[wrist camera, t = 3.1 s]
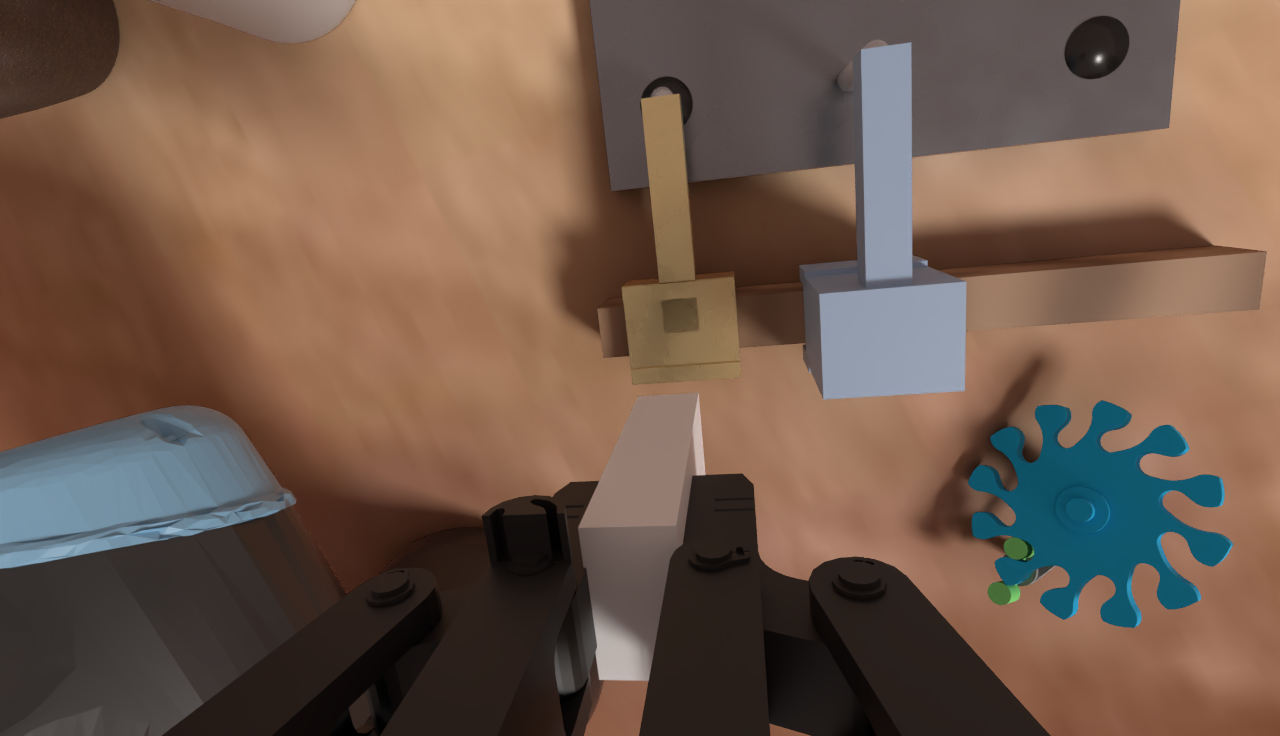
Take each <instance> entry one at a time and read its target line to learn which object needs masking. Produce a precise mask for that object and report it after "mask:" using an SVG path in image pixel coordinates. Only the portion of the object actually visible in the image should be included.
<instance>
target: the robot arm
mask: <svg viewBox="0 0 1280 736" xmlns="http://www.w3.org/2000/svg"><path fill="white" fill-rule="evenodd" d="M296 502H297V501H296V499H295V497H294V496H293V494H292V492H291V491H289V490H287V489H286V488H282V487H281V485H280V484H279V482H278V481H277V479H276V478H275V476H274V475H273V474H272V472H271V471H270V469H269V468H268V466H267V465H266V463H265V462H264V460H263V459H262V457H261V456H260V454H259V453H258V451H257V450H256V449H255V447H254V446H253V444H252V443H251V441H250V440H249V438H248V437H247V435H246V434H245V432H244V431H243V429H242V428H241V427H240V426H239V425H238V424H237V423H236V422H235V421H234V420H232V419H231V418H230V417H228V416H227V415H225V414H223V413H221V412H219V411H216V410H213V409H210V408H207V407H201V406H192V405H182V406H172V407H167V408H161V409H157V410H152V411H148V412H144V413H140V414H136V415H132V416H128V417H124V418H120V419H116V420H112V421H108V422H105V423H101V424H97V425H94V426H90V427H86V428H83V429H79V430H75V431H72V432H68V433H64V434H61V435H57V436H54V437H50V438H47V439H43V440H40V441H36V442H33V443H29V444H26V445H23V446H19V447H16V448H12V449H9V450H5V451H2V452H0V736H584V733H585V729H586V725H587V724H588V722H589V720H590V718H591V717H592V714H593V712H594V710H595V708H596V706H597V703H598V700H599V697H600V694H601V690H602V686H603V682H604V680H649V682H648V688H647V694H646V699H645V705H644V711H643V717H642V722H641V728H640V734H639V736H770V726H769V723H770V724H774V725H777V726H780V727H784V728H787V729H791V730H794V731H797V732H801V733H804V734H808V735H811V736H1050V735H1049V734H1048V733H1047V731H1046V730H1045V729H1044V728H1043V727H1042V726H1041V725H1040V724H1039V723H1038V721H1037V720H1036V719H1035V718H1034V717H1033V716H1032V715H1031V714H1030V713H1029V711H1028V710H1027V709H1026V708H1025V707H1024V706H1023V705H1022V704H1021V703H1020V701H1019V700H1018V699H1017V698H1016V697H1015V696H1014V695H1013V694H1012V693H1011V691H1010V690H1009V689H1008V688H1007V687H1006V686H1005V685H1004V684H1003V683H1002V681H1001V680H1000V679H999V678H998V677H997V676H996V675H995V674H994V673H993V671H992V670H991V669H990V668H989V667H988V666H987V665H986V664H985V663H984V661H983V660H982V659H981V658H980V657H979V656H978V655H977V654H976V653H975V651H974V650H973V649H972V648H971V647H970V646H969V645H968V644H967V643H966V641H965V640H964V639H963V638H962V637H961V636H960V635H959V634H958V633H957V632H956V630H955V629H954V628H953V627H952V626H951V625H950V624H949V623H948V622H947V620H946V619H945V618H944V617H943V616H942V615H941V614H940V613H939V612H938V610H937V609H936V608H935V607H934V606H933V605H932V604H931V603H930V602H929V600H928V599H927V598H926V597H925V596H924V595H923V594H922V593H921V592H920V590H919V589H918V588H917V587H916V586H915V585H914V584H913V583H912V582H911V580H910V579H909V578H908V577H907V576H906V575H904V574H903V573H902V572H901V571H899V570H898V569H897V568H895V567H894V566H891V565H889V564H886V563H883V562H881V561H878V560H875V559H870V558H864V557H848V558H838V559H834V560H830V561H827V562H824V563H822V564H821V565H820V566H818V567H817V568H815V569H814V570H813V572H812V574H811V576H810V578H809V581H806V580H800V579H796V578H792V577H788V576H785V575H782V574H780V573H778V572H776V571H774V570H772V569H771V568H769V567H768V566H767V565H765V563H764V562H763V561H762V560H761V559H760V556H759V553H758V544H757V529H756V515H755V500H754V486H753V484H752V483H751V482H750V481H749V480H748V479H747V478H746V477H745V476H744V475H743V474H720V475H705V464H704V452H703V440H702V428H701V417H700V405H699V393H686V394H669V395H652V396H638V397H637V399H636V402H635V404H634V406H633V408H632V410H631V413H630V415H629V417H628V419H627V421H626V424H625V426H624V428H623V430H622V432H621V435H620V437H619V439H618V441H617V443H616V446H615V448H614V450H613V452H612V454H611V457H610V459H609V461H608V463H607V465H606V468H605V470H604V472H603V474H602V476H601V479H600V481H587V482H570V483H569V484H568V485H566V486H565V487H563V488H562V489H561V490H559V491H558V492H556V493H555V494H554V496H553V497H550V496H538V495H534V496H525V497H518V498H515V499H512V500H508V501H505V502H502V503H500V504H498V505H496V506H494V507H492V508H490V509H489V510H488V511H487V512H486V513H485V514H484V515H482V519H483V525H484V528H456V529H449V530H444V531H440V532H437V533H433V534H430V535H428V536H425V537H423V538H421V539H419V540H417V541H415V542H414V543H412V544H410V545H409V546H407V547H406V548H405V549H403V550H402V551H401V552H400V553H399V554H398V555H397V556H396V557H395V558H394V559H393V560H392V561H391V562H390V563H389V564H388V565H387V566H386V568H385V569H384V570H383V571H382V572H381V573H380V574H379V575H378V576H375V577H373V578H371V579H369V580H368V581H366V582H364V583H363V584H361V585H359V586H358V587H356V588H355V589H354V590H352V591H351V592H350V593H348V594H346V593H345V591H344V589H343V588H342V586H341V584H340V583H339V581H338V579H337V578H336V576H335V574H334V573H333V571H332V569H331V568H330V566H329V564H328V563H327V561H326V559H325V558H324V556H323V554H322V553H321V551H320V549H319V547H318V546H317V544H316V542H315V541H314V539H313V537H312V536H311V534H310V532H309V531H308V529H307V527H306V526H305V524H304V522H303V521H302V519H301V517H300V516H299V514H298V512H297V511H296V509H295V507H294V506H293V505H294V504H295V503H296Z"/></svg>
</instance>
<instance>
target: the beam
mask: <svg viewBox="0 0 1280 736" xmlns="http://www.w3.org/2000/svg"><path fill="white" fill-rule="evenodd" d="M1266 253H1267V252H1266V251H1258V250H1249V249H1241V248H1232V247H1223V246H1215V245H1214V246H1203V247H1192V248H1180V249H1169V250H1157V251H1146V252H1135V253H1123V254H1112V255H1101V256H1089V257H1078V258H1066V259H1055V260H1044V261H1032V262H1021V263H1009V264H998V265H987V266H975V267H964V268H953V269H941V270H938V271H941V272H943V273H946V274H948V275H951V276H953V277H956V278H959V279H961V280H964V281H966V331H974V330H987V329H1001V328H1015V327H1028V326H1042V325H1055V324H1069V323H1082V322H1096V321H1109V320H1123V319H1136V318H1150V317H1164V316H1177V315H1191V314H1204V313H1218V312H1231V311H1245V310H1258V309H1259V307H1260V299H1261V291H1262V284H1263V276H1264V268H1265V260H1266ZM735 296H736V310H737V324H738V338H739V348H744V347H757V346H771V345H784V344H798V343H806V340H805V318H804V296H803V284H802V283H801V282H793V283H782V284H770V285H759V286H748V287H736V288H735ZM597 311H598V319H599V327H600V335H601V343H602V351H603V358H608V357H622V356H630V355H629V346H628V337H627V329H626V320H625V311H624V303H623V297H622V298H611V299H608V300H606V301H605V302H604V303H603V304H602V305H601V306H600V307H599V308H598V309H597Z"/></svg>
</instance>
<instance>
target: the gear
mask: <svg viewBox="0 0 1280 736" xmlns="http://www.w3.org/2000/svg"><path fill="white" fill-rule="evenodd" d="M1035 417H1036V420H1037V422H1038V423H1039V425H1040V427H1041V430H1042V434H1043V445H1042V450H1041V454H1040V457H1039V458H1038V460H1036V461H1035V462H1033V463H1029V462H1027V461H1026V460H1025V459H1024V457H1023V455H1022V450H1023V446H1024V442H1025V437H1024V434H1023V433H1022V431H1021V430H1020V429H1018V428H1016V427H1007V428H1004V429H1001V430H1000V431H998V432H996V433H995V434H993V435H992V436H990V440H991V443H992V445H993V446H994V447H995V448H996V449H998V450H999V451H1001V452H1002V453H1004V454H1005V455H1006V456H1007V457H1008V458H1009V460H1010V461H1011V462H1012V464H1013V466H1014V468H1015V471H1016V474H1017V477H1018V486H1017V487H1016V488H1015V489H1014V490H1012V491H1009V490H1007V489H1006V488H1004V486H1003V485H1002V482H1001V479H1000V476H999V473H998V472H997V470H995V469H994V468H993V467H991V466H986V465H979V466H978V467H977V468H976V469H975V470H974V471H973V473H972V475H971V476H970V479H969V481H968V484H969V486H970V487H971V488H973V489H974V490H977V491H982V492H987V493H991V494H993V495H996V496H997V497H999V498H1001V499H1002V500H1003V501H1004V502H1006V503H1007V504H1008V505H1009V506H1010V507H1011V508H1012V509H1013V510H1014V512H1015V514H1016V521H1015V523H1014V524H1013V525H1012V526H1007V525H1005V524H1004V523H1002V521H1001V520H1000V519H999V518H998V517H997V516H995V515H994V514H992V513H990V512H976V513H974V514H973V517H972V532H973V536H975V537H976V538H979V539H989V538H994V537H996V536H1000V535H1007V536H1012V538H1009V539H1007V540H1006V541H1005V543H1004V551H1005V553H1006V555H1005V556H1004V557H1002V558H999V559H997V560H996V561H995V567H996V569H997V572H998V574H999V575H1000V577H1001V579H1002V580H1003V581H999V582H995V583H992V584H991V585H990V586H989V588H988V595H989V598H990V599H991V600H992V601H993V602H994V603H996V604H998V605H1005V604H1008V603H1011V602H1014V601H1016V600H1018V599H1019V597H1020V589H1019V587H1018V586H1026V585H1029V584H1032V583H1034V582H1036V581H1037V580H1039V579H1040V578H1041V577H1042V576H1044V575H1045V574H1046V573H1048V572H1049V571H1050V570H1051V569H1053V568H1054V567H1055V566H1060V567H1062V568H1063V569H1065V570H1066V571H1067V572H1068V574H1069V577H1070V582H1069V584H1068V586H1067V587H1064V588H1055V589H1051V590H1048V591H1046V592H1045V593H1043V595H1042V596H1041V599H1040V603H1041V604H1042V605H1043V606H1044V607H1045V608H1046V609H1047V610H1049V611H1050V612H1051V613H1053V614H1054V615H1056V616H1058V617H1060V618H1061V619H1063V620H1064V619H1067V618H1069V617H1072V616H1073V615H1074V614H1075V613H1076V612H1077V610H1078V599H1079V595H1080V592H1081V590H1082V589H1083V587H1084V586H1085V584H1087V583H1088V582H1089V581H1090V580H1091V579H1092V578H1094V577H1095V576H1096V575H1104V576H1106V577H1108V578H1110V579H1111V580H1112V581H1113V583H1114V584H1115V587H1116V592H1115V595H1114V596H1113V597H1112V598H1110V599H1109V600H1108V601H1106V602H1105V603H1104V604H1103V605H1102V607H1101V610H1100V614H1101V618H1102V620H1103V621H1104V622H1107V623H1109V624H1112V625H1116V626H1121V627H1131V628H1135V627H1136V626H1138V625H1139V623H1140V622H1141V612H1140V610H1139V608H1138V607H1137V605H1136V603H1135V601H1134V598H1133V595H1132V591H1131V581H1132V576H1133V572H1134V569H1135V567H1136V566H1137V564H1139V563H1146V564H1149V565H1151V566H1153V567H1154V568H1156V570H1157V571H1158V572H1159V575H1160V582H1159V586H1158V589H1157V597H1158V599H1159V601H1160V603H1161V604H1162V605H1163V606H1164V607H1165V608H1167V609H1179V608H1183V607H1186V606H1189V605H1191V604H1193V603H1195V602H1197V601H1199V600H1200V599H1201V595H1200V592H1199V590H1198V589H1197V587H1196V586H1195V585H1193V584H1192V583H1191V582H1189V581H1188V580H1186V579H1184V578H1183V577H1182V576H1181V575H1179V574H1178V573H1177V572H1176V571H1175V570H1174V569H1173V568H1172V566H1171V565H1170V563H1169V562H1168V560H1167V558H1166V556H1165V554H1164V551H1163V549H1162V546H1161V537H1162V536H1163V534H1165V533H1166V532H1175V533H1178V534H1180V535H1182V536H1183V537H1184V538H1185V539H1186V541H1187V543H1188V545H1189V548H1190V550H1191V553H1192V555H1193V556H1194V557H1195V559H1197V560H1198V561H1199V562H1201V563H1202V564H1205V565H1207V566H1212V567H1213V566H1215V565H1217V564H1218V563H1220V562H1221V561H1222V560H1223V559H1224V558H1225V557H1226V556H1227V554H1228V553H1229V551H1230V549H1231V547H1232V546H1233V543H1232V542H1231V541H1230V540H1229V539H1228V538H1227V537H1225V536H1224V535H1222V534H1218V533H1214V532H1206V531H1202V530H1198V529H1195V528H1193V527H1190V526H1188V525H1186V524H1184V523H1183V522H1181V521H1180V520H1178V519H1177V518H1176V517H1174V516H1173V515H1172V514H1171V513H1170V512H1168V511H1167V510H1166V509H1165V507H1164V506H1163V503H1162V499H1163V497H1164V495H1165V494H1166V493H1167V492H1170V491H1173V490H1176V491H1179V492H1182V493H1183V494H1185V495H1186V496H1187V497H1189V498H1190V499H1191V500H1192V501H1194V502H1195V503H1197V504H1198V505H1201V506H1204V507H1219V506H1222V504H1223V502H1224V495H1225V493H1224V485H1223V481H1222V478H1220V477H1217V476H1213V475H1198V476H1196V477H1193V478H1190V479H1186V480H1178V481H1170V480H1164V479H1159V478H1155V477H1151V476H1148V475H1146V474H1145V473H1144V472H1143V471H1142V470H1141V469H1140V464H1139V463H1140V460H1141V458H1142V457H1143V456H1144V455H1146V454H1150V453H1156V454H1161V455H1165V456H1170V457H1177V456H1181V455H1183V454H1185V453H1186V452H1187V451H1188V450H1189V447H1188V444H1187V442H1186V440H1185V439H1184V437H1183V436H1182V435H1181V434H1180V433H1179V432H1178V431H1177V430H1176V429H1175V428H1174V427H1173V426H1171V425H1163V426H1159V427H1157V428H1155V429H1154V430H1153V431H1152V432H1151V434H1150V435H1149V436H1148V437H1147V438H1146V439H1145V440H1144V441H1143V442H1141V443H1140V444H1138V445H1137V446H1134V447H1132V448H1130V449H1126V450H1122V451H1117V452H1111V453H1110V452H1107V451H1106V450H1104V449H1103V447H1102V446H1101V443H1100V440H1101V437H1102V435H1103V434H1104V433H1106V432H1108V431H1112V430H1117V429H1120V428H1123V427H1125V426H1126V425H1128V424H1129V422H1130V421H1131V417H1132V414H1130V413H1129V412H1128V411H1127V410H1125V409H1123V408H1121V407H1119V406H1117V405H1114V404H1112V403H1109V402H1106V401H1103V400H1102V401H1100V402H1098V403H1097V404H1096V405H1095V406H1094V408H1093V411H1092V423H1091V426H1090V428H1089V430H1088V432H1087V433H1086V435H1085V436H1084V437H1083V438H1082V439H1081V440H1080V441H1079V442H1078V443H1077V444H1075V445H1074V446H1073V447H1071V448H1064V447H1062V446H1061V445H1060V444H1059V442H1058V434H1059V432H1060V431H1061V430H1062V429H1063V428H1064V427H1066V426H1067V425H1068V423H1069V422H1070V420H1071V411H1070V409H1069V408H1066V407H1063V406H1059V405H1043V406H1037V408H1036V410H1035Z"/></svg>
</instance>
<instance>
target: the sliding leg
mask: <svg viewBox="0 0 1280 736" xmlns="http://www.w3.org/2000/svg"><path fill="white" fill-rule="evenodd" d="M838 85H839V87H840V88H841V89H842V90H843V91H846V92H851V91H853V107H854V148H855V189H856V229H857V260H851V261H840V262H829V263H818V264H807V265H799V275H800V281H801V283H802V284H803V296H804V318H805V340H806V345H803V359H804V362H805V364H806V366H807V368H808V371H809V372H811V373H812V375H813V377H814V379H815V382H816V384H817V386H818V388H819V391H820V393H821V395H822V397H823V399H839V398H856V397H872V396H889V395H905V394H922V393H938V392H955V391H965V340H966V281H964V280H961V279H959V278H956V277H953V276H951V275H948V274H946V273H943V272H941V271H938V270H936V269H933V268H930V267H928V260H925V259H922V258H920V257H917V256H914V255H912V66H911V42H910V43H903V44H896V45H889V46H888V45H887V44H886V43H885V42H884V41H882V40H873V41H871V42H869V43H868V44H866V45H865V47H864V48H863V49H861V50H860V51H859V52H858V53H857V54H856V55H855V56H854V57H853V58H852V60H851V61H850V62H849V63H848V64H847V66H846V67H845V68H844V69H843V70H842V71H841V72H840V73H839V76H838Z"/></svg>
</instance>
